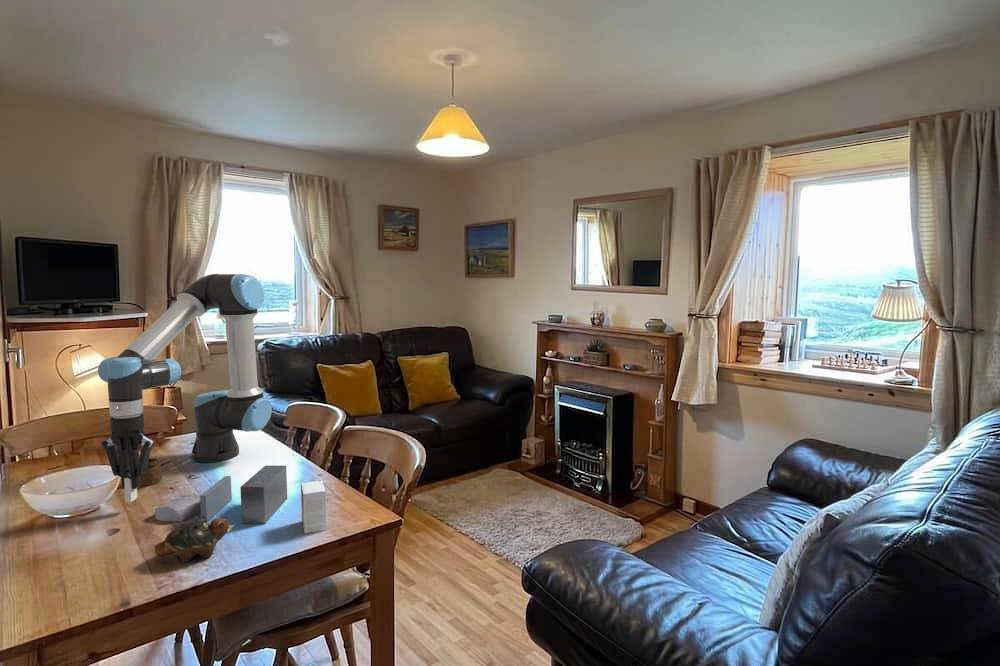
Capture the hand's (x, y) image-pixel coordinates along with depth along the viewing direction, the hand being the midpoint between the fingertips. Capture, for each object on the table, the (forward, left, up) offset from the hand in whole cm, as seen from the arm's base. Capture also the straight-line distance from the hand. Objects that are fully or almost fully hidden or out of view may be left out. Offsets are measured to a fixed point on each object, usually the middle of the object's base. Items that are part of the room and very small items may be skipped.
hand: (131, 499), depth 149 cm
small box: (+9, +52, -4) cm, 53 cm away
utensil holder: (-21, -8, -4) cm, 23 cm away
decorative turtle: (+24, +29, -4) cm, 38 cm away
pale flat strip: (+11, +27, -3) cm, 29 cm away
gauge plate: (+2, +23, -3) cm, 23 cm away
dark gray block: (0, +36, -3) cm, 36 cm away
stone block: (0, +14, -4) cm, 14 cm away
